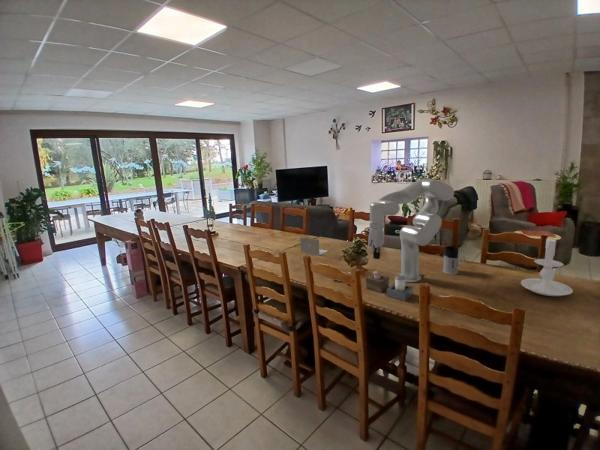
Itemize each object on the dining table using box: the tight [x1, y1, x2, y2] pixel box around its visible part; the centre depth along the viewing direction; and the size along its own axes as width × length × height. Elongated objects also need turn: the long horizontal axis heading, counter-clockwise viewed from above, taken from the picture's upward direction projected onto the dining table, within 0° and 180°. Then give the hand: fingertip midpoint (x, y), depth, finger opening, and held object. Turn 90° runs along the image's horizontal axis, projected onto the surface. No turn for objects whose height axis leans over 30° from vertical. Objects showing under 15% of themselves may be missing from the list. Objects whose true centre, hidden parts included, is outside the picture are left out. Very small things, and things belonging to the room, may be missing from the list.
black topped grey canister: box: [442, 245, 466, 275], centre depth 186 cm, size 9×14×15 cm, turn 18°
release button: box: [372, 270, 383, 280], centre depth 173 cm, size 5×5×6 cm
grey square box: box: [365, 273, 390, 293], centre depth 173 cm, size 9×9×6 cm
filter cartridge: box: [394, 274, 406, 292], centre depth 162 cm, size 5×5×10 cm
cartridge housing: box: [386, 282, 414, 302], centre depth 163 cm, size 10×10×4 cm
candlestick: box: [520, 238, 574, 297], centre depth 156 cm, size 21×25×28 cm
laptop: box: [299, 236, 329, 256], centre depth 244 cm, size 18×12×13 cm
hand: (376, 258), depth 170 cm, fingers closed
